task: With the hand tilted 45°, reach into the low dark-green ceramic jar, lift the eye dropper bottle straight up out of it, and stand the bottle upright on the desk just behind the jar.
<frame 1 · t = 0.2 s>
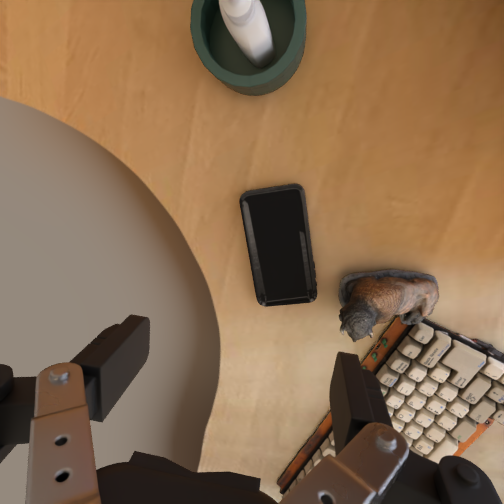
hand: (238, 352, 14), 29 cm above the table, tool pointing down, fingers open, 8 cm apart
phone: (280, 246, 43), on the table
bison figurine: (380, 289, 43), on the table
jar: (255, 41, 36), on the table
eye dropper bottle: (255, 41, 36), resting on jar
mechanical keyboard: (388, 434, 49), on the table
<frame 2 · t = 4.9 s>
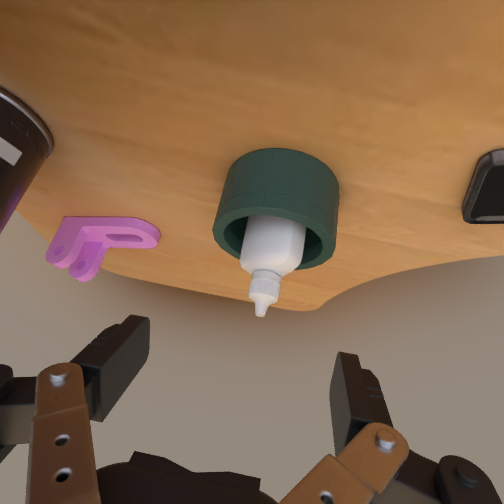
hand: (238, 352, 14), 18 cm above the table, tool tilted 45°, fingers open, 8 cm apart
bracket: (116, 227, 46), on the table
jar: (281, 189, 32), on the table
eye dropper bottle: (281, 191, 32), resting on jar
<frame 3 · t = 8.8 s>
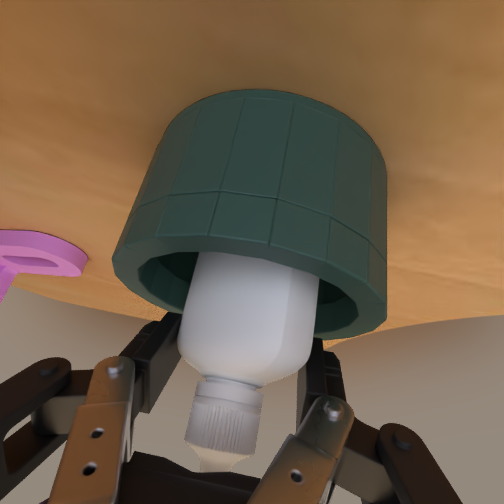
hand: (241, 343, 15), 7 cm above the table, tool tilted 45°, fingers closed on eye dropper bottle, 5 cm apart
bracket: (22, 244, 30), on the table
jar: (268, 186, 16), on the table
eye dropper bottle: (267, 191, 16), resting on jar, touching gripper
when the fingers open (7 cm above the table, at t = 18.8 s): eye dropper bottle stays where it is, on the table.
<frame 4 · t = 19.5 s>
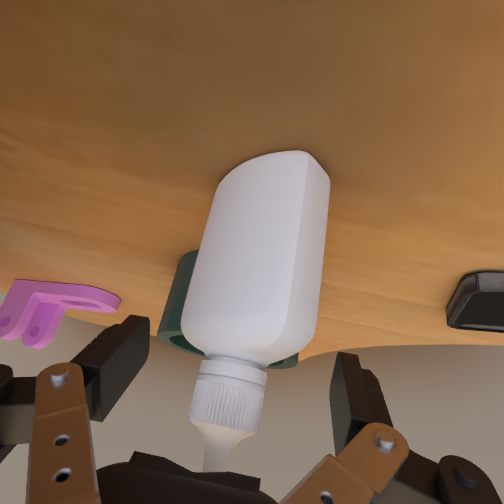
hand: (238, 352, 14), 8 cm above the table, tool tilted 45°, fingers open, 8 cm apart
bracket: (73, 290, 42), on the table
jar: (241, 279, 28), on the table
eye dropper bottle: (271, 176, 16), on the table
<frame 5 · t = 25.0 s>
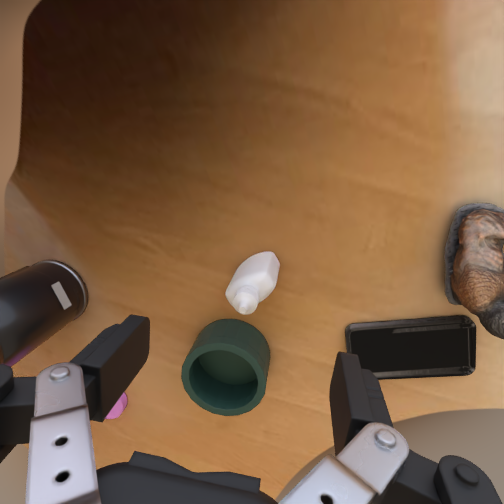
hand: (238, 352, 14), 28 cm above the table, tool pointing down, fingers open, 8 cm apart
phone: (406, 345, 43), on the table
bison figurine: (468, 251, 39), on the table
jar: (232, 352, 47), on the table
eye dropper bottle: (258, 266, 43), on the table
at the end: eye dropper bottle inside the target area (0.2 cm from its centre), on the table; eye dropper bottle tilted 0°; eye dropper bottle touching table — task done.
